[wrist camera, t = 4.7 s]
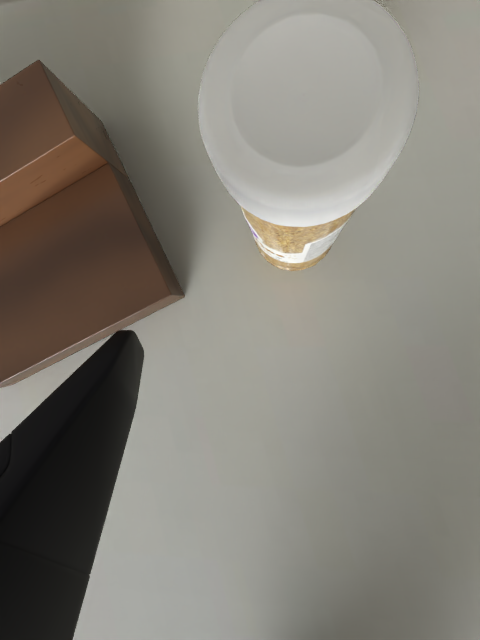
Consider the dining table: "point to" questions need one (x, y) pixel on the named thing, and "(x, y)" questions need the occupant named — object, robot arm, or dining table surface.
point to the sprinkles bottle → (306, 117)
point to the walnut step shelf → (67, 230)
